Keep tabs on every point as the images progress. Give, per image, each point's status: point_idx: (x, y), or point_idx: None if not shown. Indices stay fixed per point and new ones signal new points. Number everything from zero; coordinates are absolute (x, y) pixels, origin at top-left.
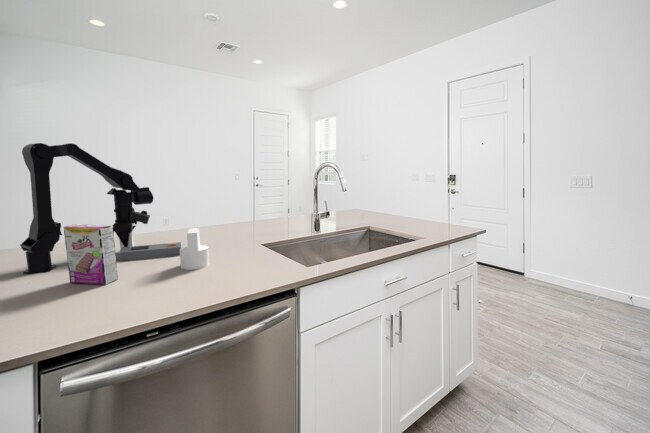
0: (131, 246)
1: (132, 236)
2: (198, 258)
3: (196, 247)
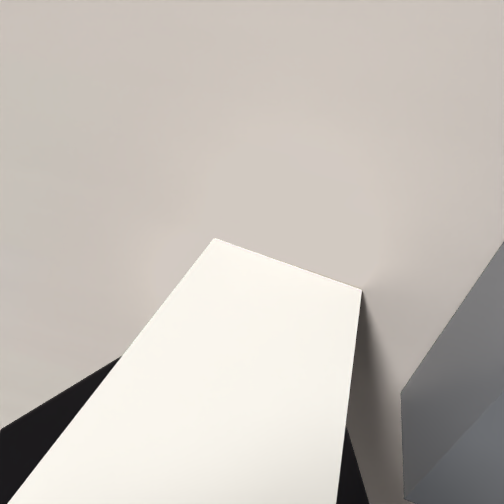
0: (486, 431)
1: (171, 487)
2: None
3: None
